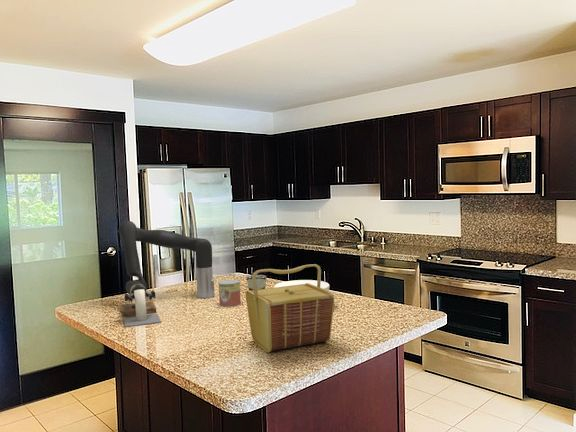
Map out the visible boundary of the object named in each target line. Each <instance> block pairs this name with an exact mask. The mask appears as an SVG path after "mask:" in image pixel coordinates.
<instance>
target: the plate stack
mask: <svg viewBox="0 0 576 432" xmlns="http://www.w3.org/2000/svg"><path fill="white" fill-rule="evenodd" d="M306 283H309V284H312V285H315V286H317V280H313V279H297V280H296V279H295V280H288V281H282V282H278V283H276V284H275V285H274V286H273V288H276V287H284V286H292V285H300V284H306ZM320 288H322V289H325V290H328V291H330V284H329V283H328V282H326V281H323V280H321V283H320ZM330 292H331V291H330Z"/></svg>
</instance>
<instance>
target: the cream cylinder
mask: <svg viewBox="0 0 576 432" xmlns="http://www.w3.org/2000/svg"><path fill="white" fill-rule="evenodd" d="M134 297H135V300H134V303H135V308H136V315H135V316H136V319H137V321H143V320H146V319H147V315H148V314H147V312H146V302H147V301H146V300H147V299H145V290H144V289H138V290H135V291H134Z"/></svg>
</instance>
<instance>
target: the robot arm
mask: <svg viewBox="0 0 576 432" xmlns="http://www.w3.org/2000/svg"><path fill="white" fill-rule="evenodd" d="M118 232H119V233H118V234H119V236H120V237H121V239H122V242H123V246H124V257H125V267H126V274H127V276H128V277H134V278H137V279H131V280H128V281H126V283H125V292H126V293H124V301H125V302H127V301H128V302H131V303H133V301H135V297H134V291H135V290H138V289H144V290H145V300H150V301H152V299H155V298H156V291H155V290H152V289H151V291H150V292H149V291H147V287H148V286H147V283H146V281H145V278H144V276H143V274H142V269H141V262H140V257H139V253H138V247H137V242H140V243H147V244H150V245H154V246H158V247H162V248H167V249H179V250H181V249H182V250H188V251H191V252H195V270H196V271H195V274H196V275H195V276H196V296H197V298H199V299H209V298H212V297H215V281H214V280H215V279H214V278H213V275H214V273H213V247H212V243H211V242H210V240H208V239H207V238H201V237H192V236H186V235H183V234H181V233H178V232H173V231H168V230H164V229H144V228H140V227H137V225H136V224H135V223H134V222H133V221H131V220H125V221H123V222H122V223H121V224H120V225H119V228H118Z"/></svg>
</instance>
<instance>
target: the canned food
mask: <svg viewBox="0 0 576 432" xmlns="http://www.w3.org/2000/svg"><path fill="white" fill-rule="evenodd" d="M240 282H241V281H240V280H239V279H238V280H237V279H224V280H221V281H219V282H218V296H219V307H223V308H224V307H225V308H230V307H233V308H234V307H236V306H237V307H238V306H240V305H241V304H242V303H241V301H242V300H241V283H240Z"/></svg>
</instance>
